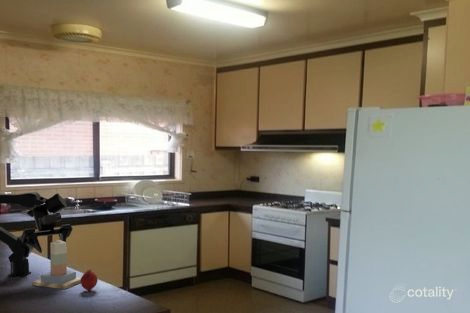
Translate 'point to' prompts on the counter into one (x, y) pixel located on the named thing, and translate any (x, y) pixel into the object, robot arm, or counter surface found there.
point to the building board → (62, 286)
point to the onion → (89, 280)
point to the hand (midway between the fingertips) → (53, 250)
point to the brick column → (58, 257)
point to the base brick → (58, 277)
